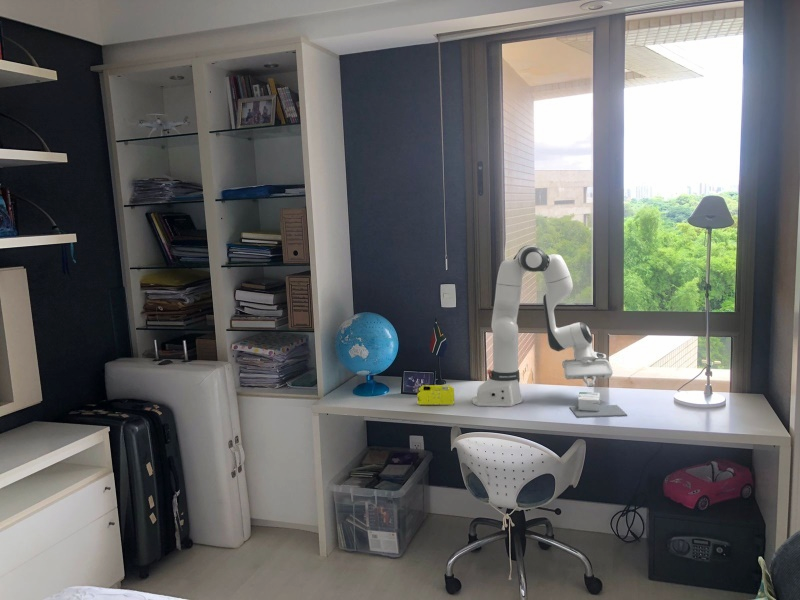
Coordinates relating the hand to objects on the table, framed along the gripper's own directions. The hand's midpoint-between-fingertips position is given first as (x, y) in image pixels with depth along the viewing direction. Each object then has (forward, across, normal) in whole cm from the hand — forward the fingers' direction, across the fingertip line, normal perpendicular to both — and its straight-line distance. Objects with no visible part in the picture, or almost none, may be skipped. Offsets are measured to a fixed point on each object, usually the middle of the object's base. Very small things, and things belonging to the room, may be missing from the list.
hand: (591, 386), depth 276 cm
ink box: (+3, 0, +4) cm, 5 cm away
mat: (+13, 0, -1) cm, 13 cm away
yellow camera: (-1, -67, +13) cm, 68 cm away
